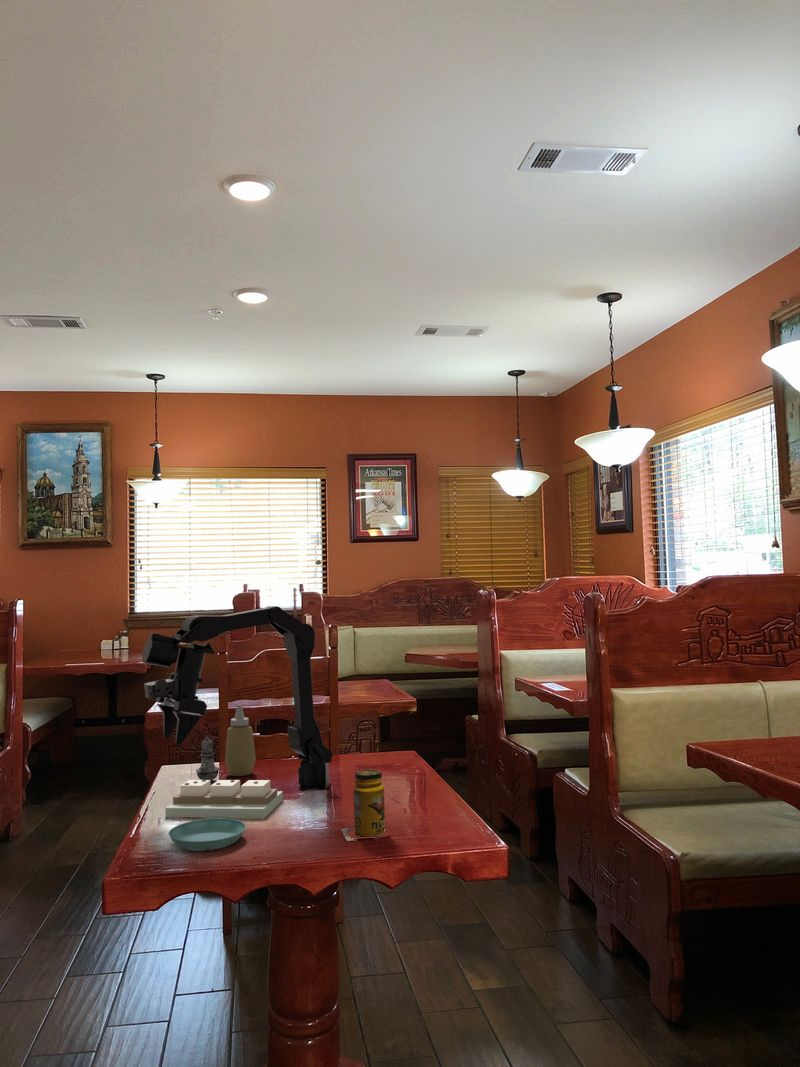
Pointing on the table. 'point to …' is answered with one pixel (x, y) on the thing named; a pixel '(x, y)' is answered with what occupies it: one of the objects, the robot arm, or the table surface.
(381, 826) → the condiment
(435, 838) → the table surface
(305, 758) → the robot arm
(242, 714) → the squeeze bottle
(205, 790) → the three-pip key
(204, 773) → the grey tall tapered piece
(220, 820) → the saucer
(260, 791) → the one-pip key
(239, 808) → the board
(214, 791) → the two-pip key
